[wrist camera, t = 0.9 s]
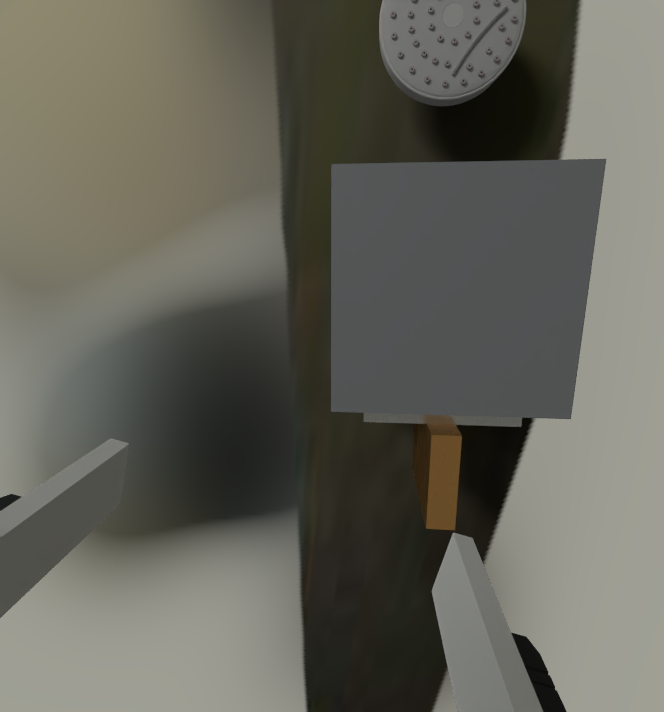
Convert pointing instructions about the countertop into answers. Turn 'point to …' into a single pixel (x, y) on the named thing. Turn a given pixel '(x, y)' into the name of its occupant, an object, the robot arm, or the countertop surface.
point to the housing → (461, 285)
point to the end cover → (438, 459)
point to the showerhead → (449, 45)
